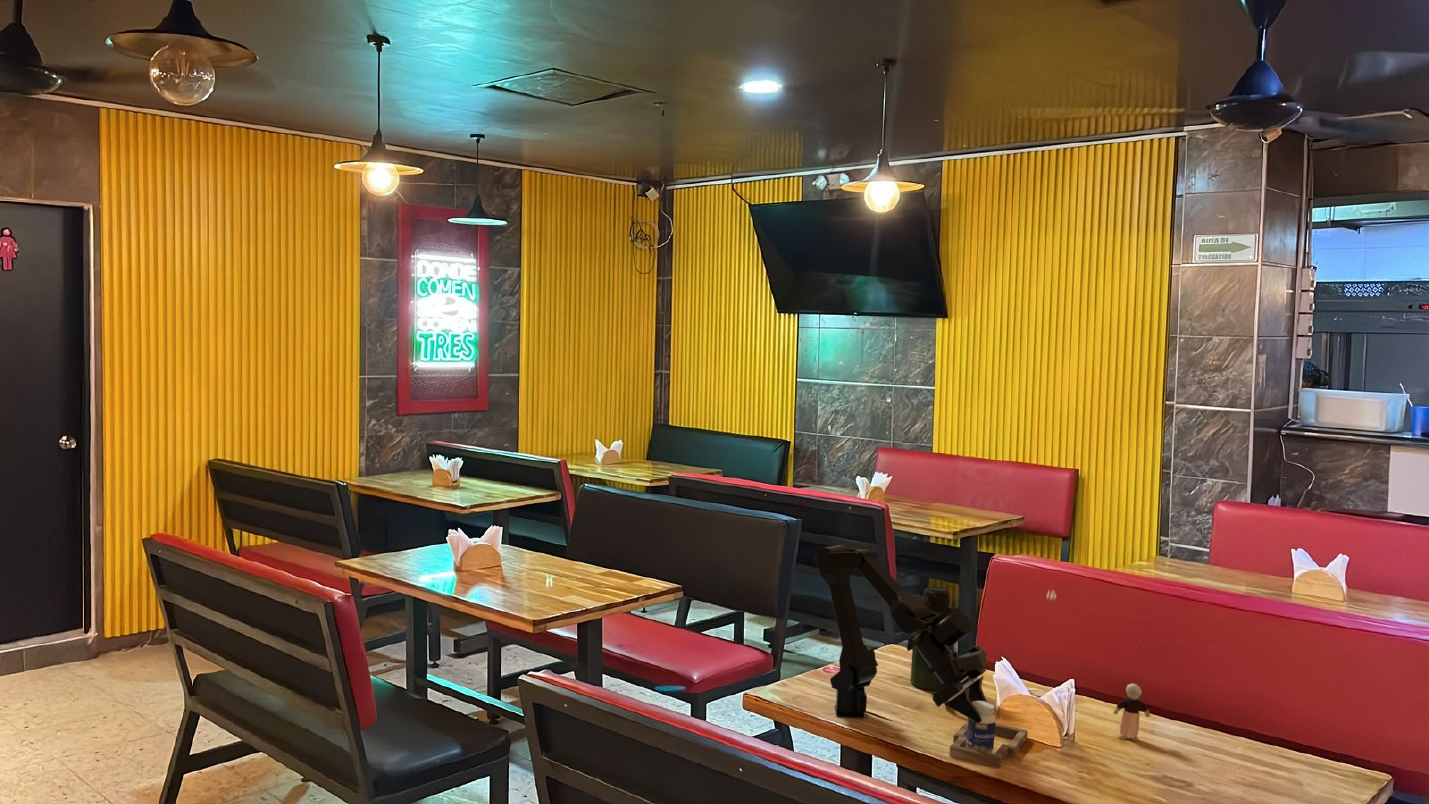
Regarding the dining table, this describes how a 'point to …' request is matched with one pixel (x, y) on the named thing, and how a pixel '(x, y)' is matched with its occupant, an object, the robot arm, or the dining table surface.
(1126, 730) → the grandmother figurine
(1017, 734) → the keyhole frame
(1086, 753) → the dining table surface
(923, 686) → the dark green bottle
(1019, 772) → the dining table surface
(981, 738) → the pill bottle
